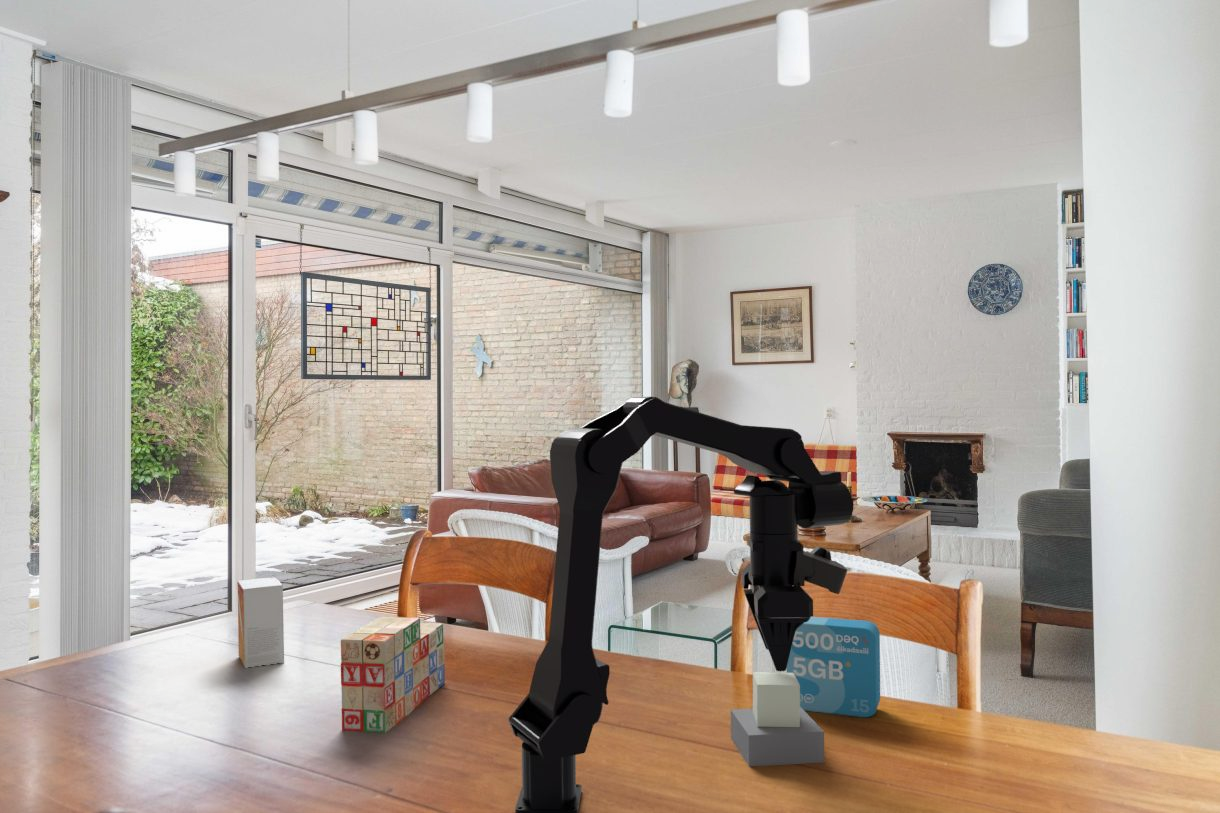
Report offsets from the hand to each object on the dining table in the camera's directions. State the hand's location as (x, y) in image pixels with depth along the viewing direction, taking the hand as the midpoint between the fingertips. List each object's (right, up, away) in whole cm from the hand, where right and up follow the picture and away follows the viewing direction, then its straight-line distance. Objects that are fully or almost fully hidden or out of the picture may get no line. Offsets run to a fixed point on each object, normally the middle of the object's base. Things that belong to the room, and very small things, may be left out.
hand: (775, 659), depth 112 cm
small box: (-78, -12, +42) cm, 90 cm away
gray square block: (0, -11, 0) cm, 11 cm away
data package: (+11, -11, +15) cm, 21 cm away
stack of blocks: (-50, -12, +18) cm, 55 cm away
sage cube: (0, -7, 0) cm, 7 cm away
